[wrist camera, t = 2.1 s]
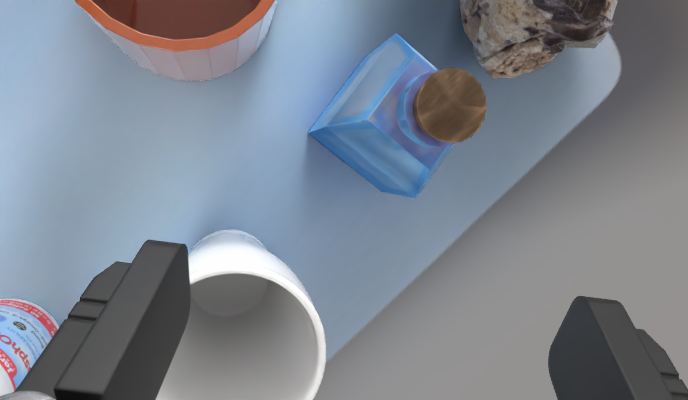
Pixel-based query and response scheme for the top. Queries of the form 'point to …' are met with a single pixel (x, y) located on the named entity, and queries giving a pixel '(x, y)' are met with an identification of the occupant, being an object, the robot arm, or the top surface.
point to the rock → (532, 31)
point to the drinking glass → (245, 327)
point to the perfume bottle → (400, 117)
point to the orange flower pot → (184, 33)
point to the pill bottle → (21, 339)
